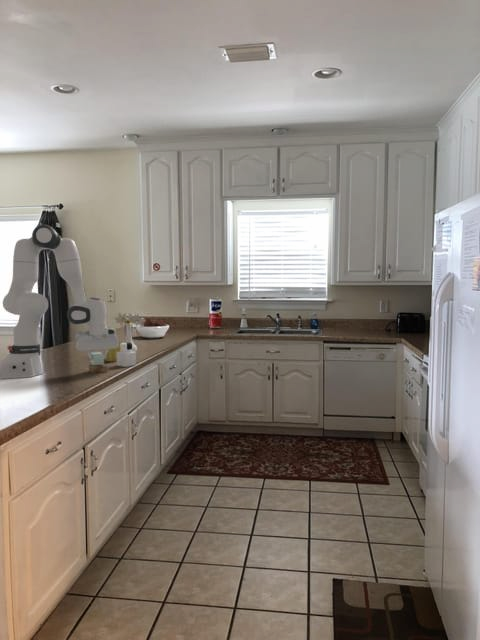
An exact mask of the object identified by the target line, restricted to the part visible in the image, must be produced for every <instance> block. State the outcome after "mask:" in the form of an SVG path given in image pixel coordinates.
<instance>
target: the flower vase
mask: <svg viewBox="0 0 480 640" xmlns="http://www.w3.org/2000/svg"><path fill="white" fill-rule="evenodd" d="M114 320H115V321H116V322H115V323H117V324H119V325H120V326H121V327H122V326H123V324H125V328H126V330H125V331H126V332H125V333H126V334H125V336H126V337H125V341H124V343H132V352H137V351H138V346H137V345H136V344H135V343H134V341H133V338H132V335H133V334H132V328H133V327H132V326H133V324H134V325H138V324H139V325H140V329H141V325H142V327H144V324H143V323H144V322H145V321H147V319H145V315H144V316H143V317H142V318H140V317H139V313H137V314H136V313H134V315H132V313H131V312H129V313H128V316H127V314H126V313H123V314H122V313H121V312H119V313H118V316H117V317H114Z"/></svg>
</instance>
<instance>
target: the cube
mask: <svg viewBox="0 0 480 640" xmlns="http://www.w3.org/2000/svg"><path fill="white" fill-rule="evenodd" d="M90 354H91V356H93V359H92V360H90V359H89V363H90V365H103V364H104V365H105V359H104V353H102V352H101V351H95V352H91V353H90Z"/></svg>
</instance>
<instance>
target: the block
mask: <svg viewBox="0 0 480 640" xmlns="http://www.w3.org/2000/svg"><path fill="white" fill-rule="evenodd" d="M88 372H90V373H92V374H98V373H99V374H101V373H107V372H108V365H107V364H105V363H104V364H103V365H93V364H89V365H88Z"/></svg>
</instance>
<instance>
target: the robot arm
mask: <svg viewBox="0 0 480 640" xmlns="http://www.w3.org/2000/svg"><path fill="white" fill-rule="evenodd" d="M49 250H51V251H52V253H53V254H54V257H55V262H56V268H57V270H58V274H59V276H60V277H61V278H62V280H64V281H65V282H66V283H67V284H68V285H69V288H70V291H71V294H72V298H73V303H74V304H73V305H72V306H70V307H69V308H68V309H67V311H66V317H67V320H68V321H69V322H70V323H71V324H73V325H82V324H87V331H78V332H77V333H76V334H75V342H76V344H75V349H76V351H78V352H86V354H87V355H88V357H89V358H88V359H89V361H90V360H92V359H93V356H91V353H92V351H99V350H101V351H102V350H103V352H104V351H105V352H104V353H103V354H104V360H106V355H107V353H108V349H117V348H118V347H119V337H118V335H117V330H116V329H114V328H111V327H107V325H108V324H107V321H106V319H107V307H106V302H105V300H104V299H102V298H98V297H89V298H87V295H86V290H85V289H86V288H85V285H84V280H83V272H82V271H83V269H82V263H81V258H80V253H79V250H78V247H77V245H76V242H75V240H74V239H72V238H69V237H62V236H60V235H59V233H58V232H57V231H56V230H55V229H54V227H52V226H51V225H48V224H39V225H37V226H36V227H35V228H34V229H33V231H32V233H31V237H29V238H21V239H18V240H17V241H16V243H15V245H14V251H13V257H12V258H13V260H12V261H13V262H12V264H13V265H12V279H11V283H10V284H11V285H10V287H9V290H8V292H7V294H6V295H5V296H4V297H3V299H2V307H3V309H4V310H5V311H6V312H8V313H10V314H13V315H14V316H15V315H16V316H18V317H19V318H18V321H17V324H16V325H15V326H14V328H13V330H12V331H13V345H8V346H7V350H9V351H8V352H9V353H8V354H7V355H6V356H5V357H3V358H2V359H1V360H0V380H3V379H5V380H6V379H7V380H8V379H19V378H20V379H21V378H23V379H25V378H33V377H36V376H40V375H43V374H44V370H43V366H42V362H41V344H40V325H41V324H40V323H41V320H42V318H43V317H44V316H43V315H44V314H45V313H46V312H47V310H48V308H49V301H48V299H47V297H46V296H45V295H44V294H41V293H39V292H33V288H34V286H35V284H36V283H37V282H38V280H39V271H40V270H39V269H40V268H39V267H40V266H39V262H40V261H39V259H40V258H39V257H40V253H41V252H43V251H44V252H45V251H49Z"/></svg>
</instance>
